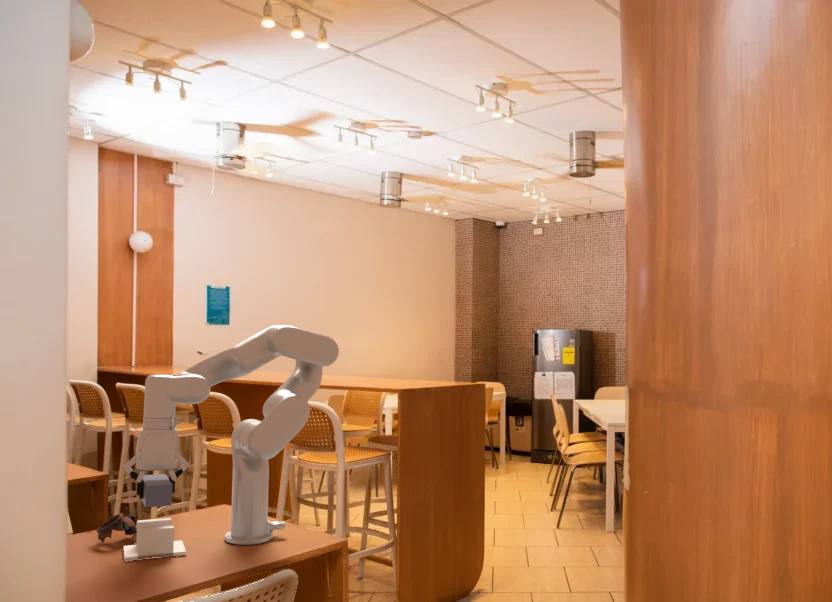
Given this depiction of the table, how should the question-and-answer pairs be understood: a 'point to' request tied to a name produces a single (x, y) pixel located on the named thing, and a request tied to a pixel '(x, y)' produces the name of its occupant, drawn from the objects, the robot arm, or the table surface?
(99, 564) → the table surface
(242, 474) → the robot arm
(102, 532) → the pottery mug
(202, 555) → the table surface
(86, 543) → the table surface
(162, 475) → the blue-grey rectangular block
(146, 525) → the display stand
